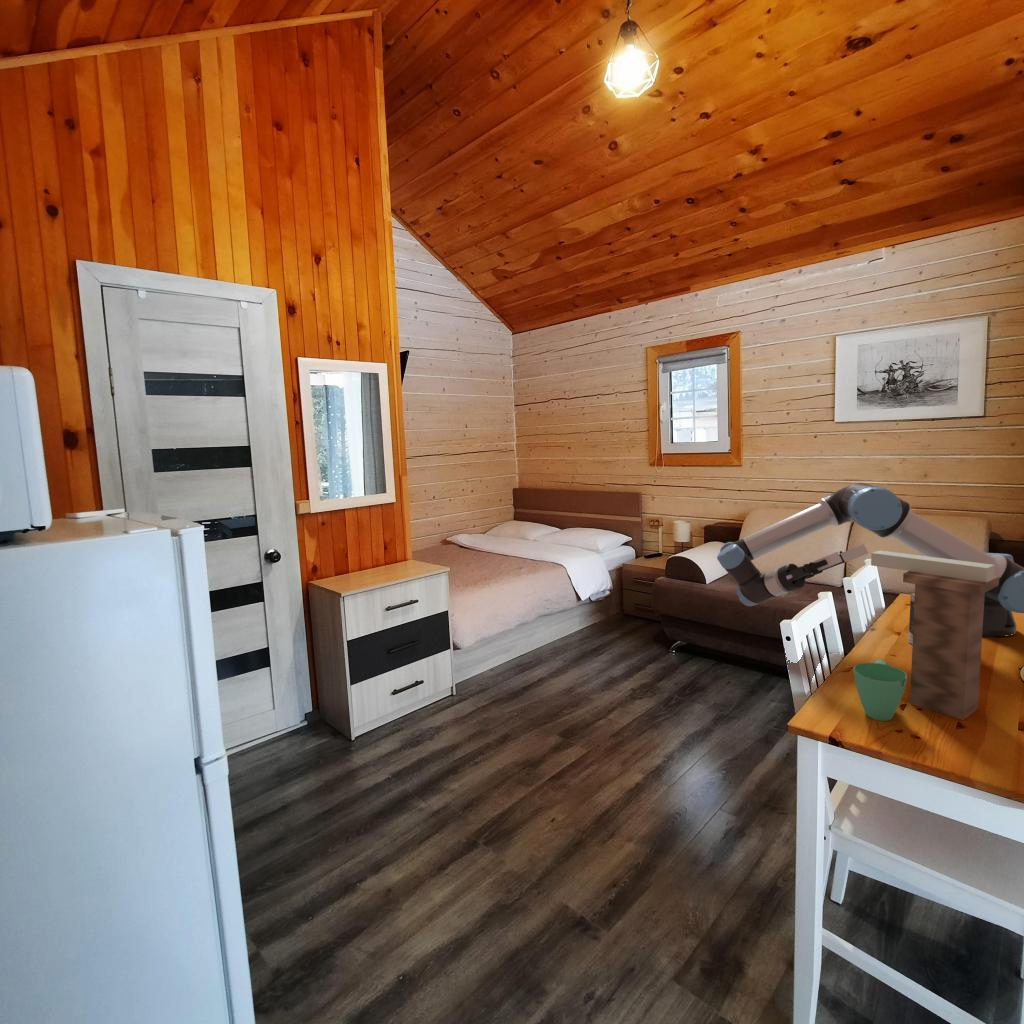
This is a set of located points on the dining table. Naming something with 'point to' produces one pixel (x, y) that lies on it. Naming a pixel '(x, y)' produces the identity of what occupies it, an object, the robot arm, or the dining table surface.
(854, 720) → the dining table surface
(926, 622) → the pedestal
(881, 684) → the mug
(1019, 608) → the robot arm
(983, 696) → the dining table surface
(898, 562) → the stick
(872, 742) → the dining table surface
